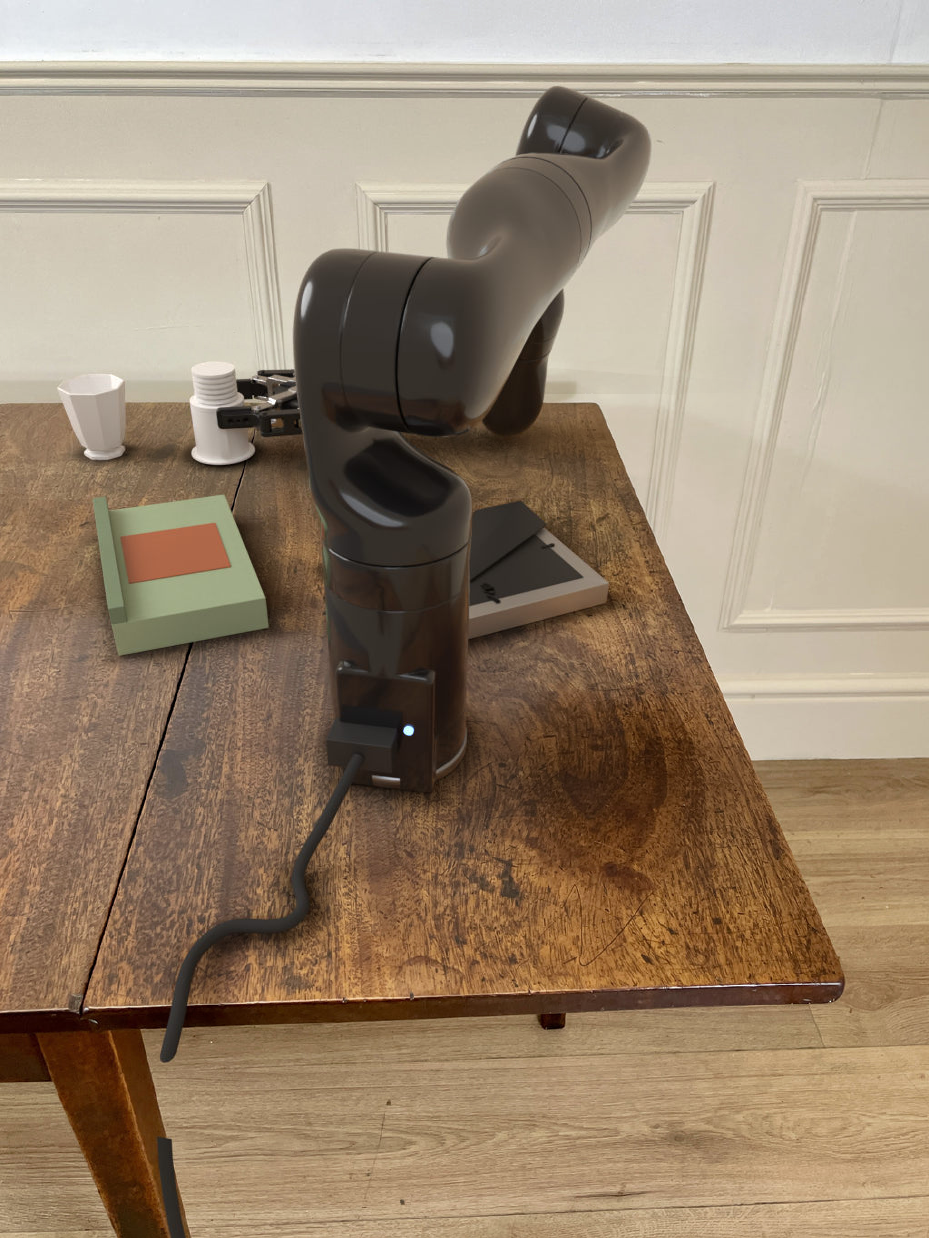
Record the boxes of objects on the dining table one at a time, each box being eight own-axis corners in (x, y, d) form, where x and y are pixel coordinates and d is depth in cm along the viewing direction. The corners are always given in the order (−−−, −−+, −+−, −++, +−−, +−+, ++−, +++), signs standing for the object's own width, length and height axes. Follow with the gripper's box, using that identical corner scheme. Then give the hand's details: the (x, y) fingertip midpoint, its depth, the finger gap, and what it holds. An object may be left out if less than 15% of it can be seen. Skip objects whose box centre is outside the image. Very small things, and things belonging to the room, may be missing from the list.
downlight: (189, 443, 110) (177, 359, 104) (250, 437, 111) (241, 354, 106) (194, 472, 103) (181, 383, 98) (259, 465, 105) (250, 378, 99)
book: (227, 521, 94) (222, 480, 91) (268, 627, 79) (263, 582, 76) (101, 540, 90) (92, 498, 88) (118, 656, 75) (107, 608, 72)
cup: (75, 469, 103) (59, 398, 99) (67, 435, 111) (52, 368, 106) (141, 460, 105) (128, 390, 101) (129, 427, 113) (117, 361, 109)
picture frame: (519, 525, 95) (322, 568, 87) (521, 500, 93) (321, 541, 85) (606, 603, 83) (388, 660, 75) (610, 575, 81) (387, 631, 74)
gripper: (356, 344, 111) (214, 350, 108) (370, 387, 99) (212, 394, 96) (359, 406, 115) (222, 412, 112) (372, 453, 103) (220, 462, 100)
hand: (217, 404), depth 104 cm, fingers open, 8 cm apart
